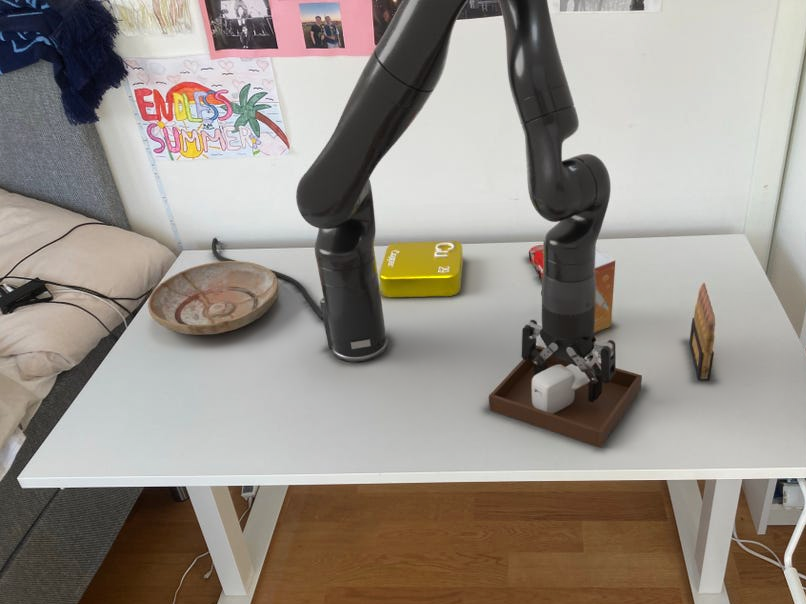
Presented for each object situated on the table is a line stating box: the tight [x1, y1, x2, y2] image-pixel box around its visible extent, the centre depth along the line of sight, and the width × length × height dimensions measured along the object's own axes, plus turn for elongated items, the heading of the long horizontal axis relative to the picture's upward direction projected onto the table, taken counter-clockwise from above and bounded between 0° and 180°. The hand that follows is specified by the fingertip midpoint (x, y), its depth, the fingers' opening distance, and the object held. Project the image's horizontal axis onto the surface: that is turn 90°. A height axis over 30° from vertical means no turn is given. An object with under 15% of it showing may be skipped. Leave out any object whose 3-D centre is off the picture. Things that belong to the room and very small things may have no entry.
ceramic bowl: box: [147, 260, 280, 335], centre depth 144 cm, size 23×24×5 cm
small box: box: [594, 249, 616, 334], centre depth 132 cm, size 8×6×13 cm
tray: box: [488, 344, 643, 449], centre depth 119 cm, size 18×15×3 cm
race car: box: [528, 244, 543, 281], centre depth 153 cm, size 13×5×4 cm, turn 9°
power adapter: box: [532, 364, 590, 414], centre depth 117 cm, size 11×5×6 cm, turn 127°
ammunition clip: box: [688, 282, 716, 382], centre depth 122 cm, size 11×2×12 cm, turn 175°
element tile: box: [378, 240, 464, 299], centre depth 152 cm, size 15×15×5 cm
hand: (567, 391), depth 118 cm, fingers open, 8 cm apart
